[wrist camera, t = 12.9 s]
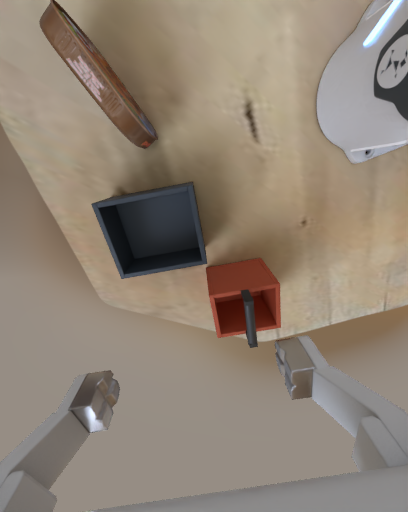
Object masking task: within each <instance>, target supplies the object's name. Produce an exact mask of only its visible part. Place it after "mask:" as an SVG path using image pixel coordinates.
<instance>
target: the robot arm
mask: <svg viewBox="0 0 408 512" xmlns="http://www.w3.org/2000/svg"><path fill="white" fill-rule="evenodd" d="M317 117H318V121H319V124H320V127H321V129H322V131H323V133H324V135H325V136H326V137H327V138H328V139H329V140H330V141H331V142H332V143H333V144H335V145H337V146H338V147H340V148H341V149H343V150H344V152H345V154H346V156H347V157H348V159H349V160H350V162H352V163H354V164H355V163H361V162H364V161H366V160H369V159H372V158H374V157H377V156H379V155H382V154H384V153H387V152H389V151H392V150H395V149H397V148H400V147H402V146H405V145H407V144H408V0H374V1H373V2H372V3H371V4H370V5H369V6H368V8H367V9H366V11H365V13H364V15H363V16H362V18H361V20H360V22H359V24H358V26H357V28H356V29H355V30H354V32H353V33H352V34H351V35H350V36H349V37H348V38H347V39H346V40H345V41H344V42H343V43H342V44H341V45H340V46H339V48H338V49H337V50H336V51H335V53H334V54H333V56H332V57H331V59H330V60H329V62H328V64H327V66H326V68H325V70H324V72H323V75H322V78H321V81H320V84H319V88H318V93H317ZM366 150H367V154H366V153H365V152H366ZM275 348H276V349H277V352H276V360H277V365H278V367H279V370H280V373H281V375H283V376H284V377H285V385H286V387H287V389H288V392H289V394H290V396H291V399H292V400H293V399H300V398H309V397H312V399H313V400H315V402H316V403H318V404H319V405H320V406H321V407H322V408H323V409H324V410H325V411H326V412H327V413H328V414H330V415H331V416H332V417H333V418H334V419H335V420H336V421H337V422H338V423H339V424H341V426H343V427H344V428H345V429H346V430H347V431H348V432H349V433H350V434H351V435H352V436H353V437H355V438H356V441H355V444H354V449H353V453H352V458H353V460H354V462H355V464H356V466H357V468H358V469H359V471H360V472H354V473H347V474H340V475H333V476H326V477H319V478H312V479H305V480H298V481H291V482H285V483H277V484H271V485H264V486H257V487H250V488H244V489H236V490H230V491H222V492H215V493H209V494H201V495H195V496H188V497H181V498H174V499H167V500H160V501H153V502H146V503H139V504H132V505H126V506H118V507H112V508H105V509H98V510H91V511H84V512H408V414H407V413H406V412H405V411H404V410H403V409H401V408H400V407H398V406H397V405H395V404H393V403H392V402H390V401H388V400H387V399H385V398H384V397H382V396H380V395H379V394H377V393H376V392H374V391H372V390H371V389H369V388H367V387H366V386H364V385H363V384H361V383H360V382H358V381H356V380H355V379H353V378H352V377H350V376H348V375H347V374H345V373H344V372H342V371H340V370H339V369H337V368H335V367H334V366H331V367H330V366H329V365H328V363H327V362H326V360H325V359H324V357H323V356H322V354H321V353H320V352H319V350H318V349H317V347H316V346H315V344H314V343H313V341H312V340H311V338H310V337H309V336H307V335H306V336H300V337H293V338H288V339H283V340H278V341H275ZM112 377H113V373H112V372H111V371H102V372H95V373H88V374H82V375H79V376H77V377H76V379H75V380H74V382H73V384H72V385H71V387H70V389H69V390H68V392H67V394H66V396H65V397H64V399H63V401H62V403H61V404H60V406H59V408H58V410H57V411H56V413H52V414H51V415H50V416H49V417H48V418H47V419H46V420H45V421H44V422H43V423H42V424H41V425H40V426H38V427H37V428H36V429H35V430H34V431H33V432H32V433H31V434H30V435H29V436H28V437H27V438H26V439H25V440H24V441H23V442H21V443H20V444H19V445H18V446H17V447H16V448H15V449H14V450H13V451H12V452H11V453H10V454H9V455H8V456H7V457H6V458H4V459H3V460H2V461H1V462H0V512H52V511H53V509H54V507H55V504H56V502H57V498H56V496H55V495H54V494H52V493H51V492H50V491H49V489H50V488H51V486H52V485H53V483H54V482H55V481H56V479H57V478H58V477H59V475H60V474H61V473H62V471H63V470H64V468H65V467H66V466H67V465H68V463H69V462H70V460H71V459H72V458H73V456H74V455H75V454H76V452H77V451H78V450H79V448H80V447H81V445H82V444H83V443H84V441H85V440H86V439H87V437H88V436H89V435H90V434H89V433H93V432H98V431H103V430H108V427H109V424H110V421H111V418H112V415H113V410H112V407H113V406H114V405H115V404H116V403H117V400H118V397H119V391H120V387H119V384H118V382H117V380H115V379H113V378H112Z"/></svg>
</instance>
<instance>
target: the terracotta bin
mask: <svg viewBox="0 0 408 512" xmlns="http://www.w3.org/2000/svg"><path fill="white" fill-rule="evenodd" d="M206 273H207V281H208V290H209V297H210V302H211V307H212V312H213V317H214V322H215V327H216V332H217V337H218V338H221V337H227V336H233V335H239V334H245V333H246V336H247V339H248V344H249V346H250V348H252V347H258V346H257V345H258V344H257V335H256V332H257V331H263V330H269V329H275V328H280V327H281V313H280V283H279V282H278V280H277V279H276V278H275V276H274V275H273V274H272V272H271V271H270V270H269V268H268V267H267V266H266V264H265V263H264V262H263V260H262V259H261V258H258V259H252V260H247V261H241V262H235V263H230V264H224V265H219V266H213V267H207V268H206Z"/></svg>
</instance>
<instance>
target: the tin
mask: <svg viewBox="0 0 408 512" xmlns="http://www.w3.org/2000/svg"><path fill="white" fill-rule="evenodd" d="M40 27H41V29H42V31H43V33H44V35H45V36H46V38H47V39H48V41H49V42H50V43H51V45H52V46H53V48H54V49H55V50H56V52H57V53H58V54H59V55H60V57H61V58H62V59H63V61H64V62H65V63H66V64H67V66H68V67H69V68H70V70H71V71H72V72H73V73H74V75H75V76H76V77H77V79H78V80H79V81H80V82H81V84H82V85H83V86H84V87H85V89H86V90H87V91H88V92H89V94H90V95H91V96H92V98H93V99H94V100H95V101H96V102H97V104H98V105H99V106H100V107H101V109H102V110H103V111H104V112H105V114H106V115H107V116H108V117H109V119H110V120H111V121H112V122H113V123H114V125H115V126H116V127H117V128H118V129H119V130H120V131H121V132H122V133H123V134H124V135H125V136H126V137H127V138H128V139H129V140H130V141H131V142H132V143H134V144H135V145H136V146H138V147H141V148H144V149H145V148H147V147H148V146H149V145H151V144H152V143H153V142H154V141H155V140H157V139H158V136H157V134H156V132H155V130H154V128H153V127H152V125H151V124H150V122H149V121H148V119H147V118H146V116H145V115H144V113H143V112H142V111H141V109H140V108H139V106H138V105H137V104H136V102H135V101H134V99H133V98H132V97H131V95H130V94H129V92H128V91H127V90H126V88H125V87H124V85H123V84H122V83H121V81H120V80H119V78H118V77H117V76H116V74H115V73H114V71H113V70H112V69H111V67H110V66H109V64H108V63H107V62H106V60H105V59H104V58H103V56H102V55H101V54H100V52H99V51H98V50H97V48H96V47H95V46H94V45H93V43H92V42H91V41H90V40H89V38H88V37H87V36H86V35H85V33H84V32H83V31H82V30H81V29H80V27H79V26H78V25H77V24H76V23H75V22H74V20H73V19H72V18H71V17H70V16H69V15H68V14H67V12H66V11H65V10H64V9H63V8H62V7H61V6H60V5H59V4H58V3H57V2H56V1H55V0H51V3H50V4H49V6H48V7H47V9H46V10H45V12H44V13H43V15H42V17H41V19H40Z"/></svg>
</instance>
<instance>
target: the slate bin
mask: <svg viewBox="0 0 408 512" xmlns="http://www.w3.org/2000/svg"><path fill="white" fill-rule="evenodd" d="M92 207H93V209H94V212H95V214H96V217H97V219H98V222H99V224H100V227H101V229H102V232H103V234H104V237H105V239H106V241H107V244H108V246H109V249H110V251H111V254H112V256H113V259H114V261H115V264H116V266H117V269H118V271H119V274H120V276H121V279H124V278H130V277H135V276H141V275H146V274H152V273H158V272H163V271H169V270H174V269H180V268H186V267H191V266H197V265H203V264H207V258H206V251H205V245H204V239H203V234H202V229H201V223H200V218H199V213H198V207H197V202H196V197H195V191H194V186H193V182H189V183H183V184H178V185H173V186H168V187H162V188H157V189H152V190H147V191H141V192H136V193H131V194H126V195H121V196H115V197H110V198H107V199H105V200H102V201H99V202H96V203H93V204H92Z"/></svg>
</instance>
